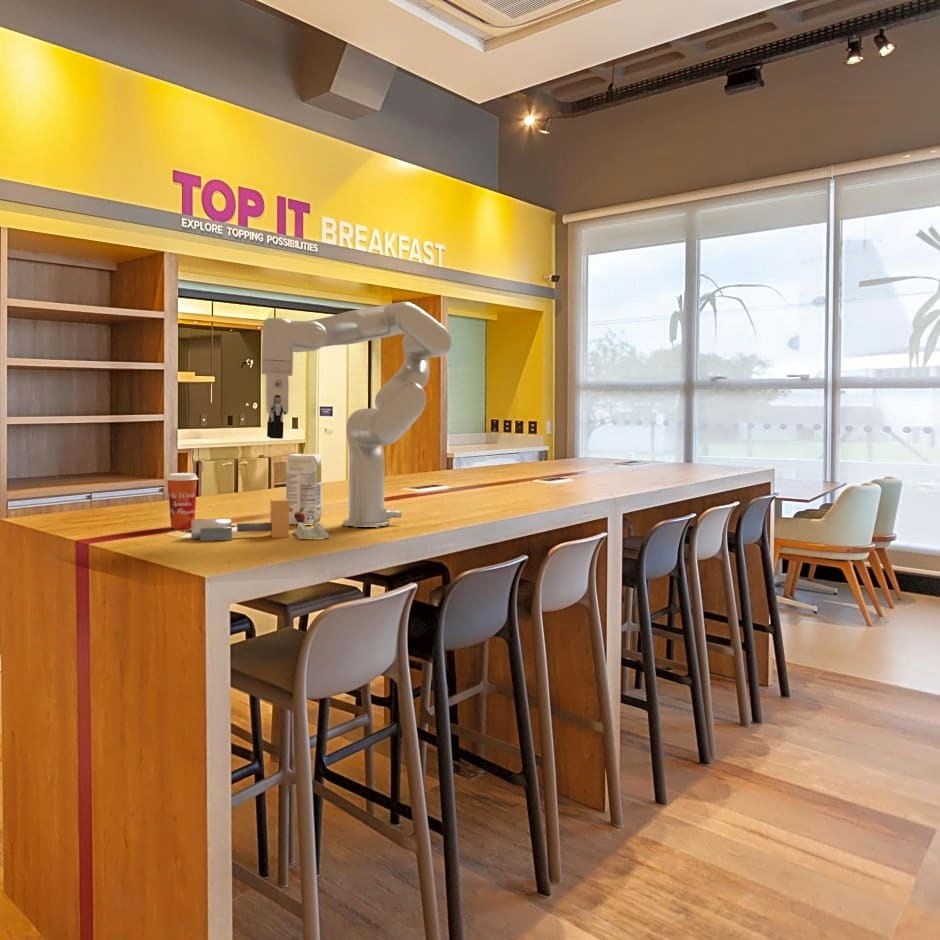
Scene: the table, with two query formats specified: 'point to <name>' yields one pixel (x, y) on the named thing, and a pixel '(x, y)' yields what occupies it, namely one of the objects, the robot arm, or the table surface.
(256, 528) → the grey base tan upright
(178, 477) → the paper cup
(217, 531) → the channel block
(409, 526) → the table surface
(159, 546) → the table surface
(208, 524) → the axle
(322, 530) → the cradle
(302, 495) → the juice carton
